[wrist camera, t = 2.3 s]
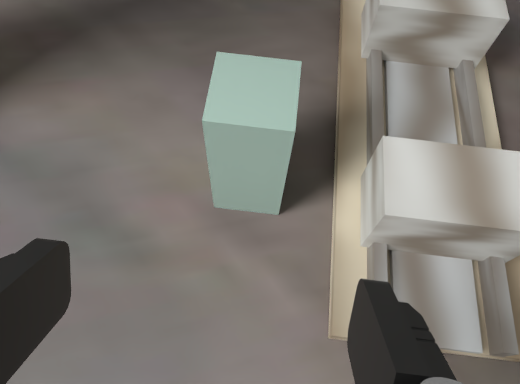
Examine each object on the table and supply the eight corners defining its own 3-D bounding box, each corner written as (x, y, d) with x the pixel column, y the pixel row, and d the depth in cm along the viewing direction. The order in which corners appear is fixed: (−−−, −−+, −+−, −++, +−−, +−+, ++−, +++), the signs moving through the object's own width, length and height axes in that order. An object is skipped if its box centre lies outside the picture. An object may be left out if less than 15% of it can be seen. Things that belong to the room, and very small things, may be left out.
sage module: (214, 207, 29) (202, 120, 20) (223, 152, 31) (217, 51, 22) (278, 214, 29) (295, 131, 20) (284, 159, 31) (301, 61, 22)
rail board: (328, 338, 25) (355, 319, 19) (341, -13, 40) (358, -87, 34) (526, 362, 25) (615, 351, 19) (467, 1, 39) (507, -71, 33)
